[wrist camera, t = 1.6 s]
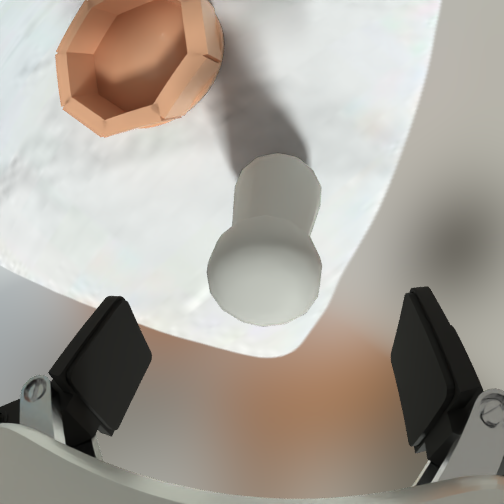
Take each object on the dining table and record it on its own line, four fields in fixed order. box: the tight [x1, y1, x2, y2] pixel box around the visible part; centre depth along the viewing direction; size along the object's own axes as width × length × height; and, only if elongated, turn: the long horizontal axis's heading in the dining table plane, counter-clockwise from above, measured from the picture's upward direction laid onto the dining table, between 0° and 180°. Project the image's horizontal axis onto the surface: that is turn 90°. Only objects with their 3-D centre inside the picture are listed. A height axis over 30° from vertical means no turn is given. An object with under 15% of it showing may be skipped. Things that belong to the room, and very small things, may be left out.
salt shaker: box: [207, 153, 322, 327], centre depth 15 cm, size 6×6×13 cm
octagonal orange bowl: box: [55, 0, 224, 138], centre depth 15 cm, size 12×12×4 cm
